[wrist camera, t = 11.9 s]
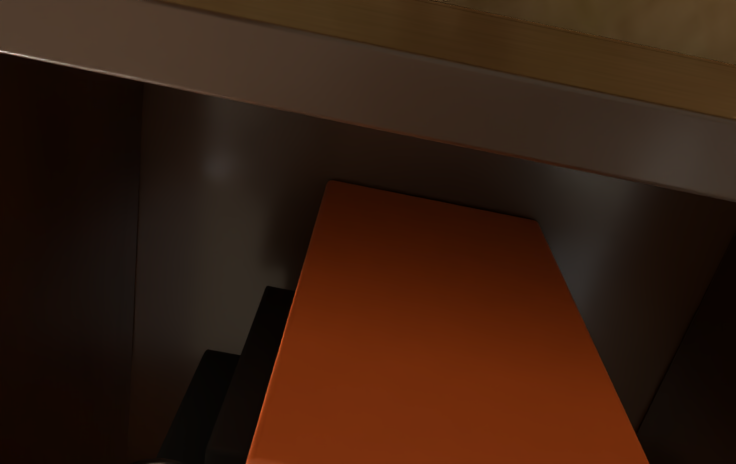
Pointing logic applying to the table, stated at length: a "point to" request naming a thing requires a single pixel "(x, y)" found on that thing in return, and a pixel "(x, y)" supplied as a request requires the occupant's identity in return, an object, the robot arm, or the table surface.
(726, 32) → the table surface
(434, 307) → the block
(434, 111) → the holder
